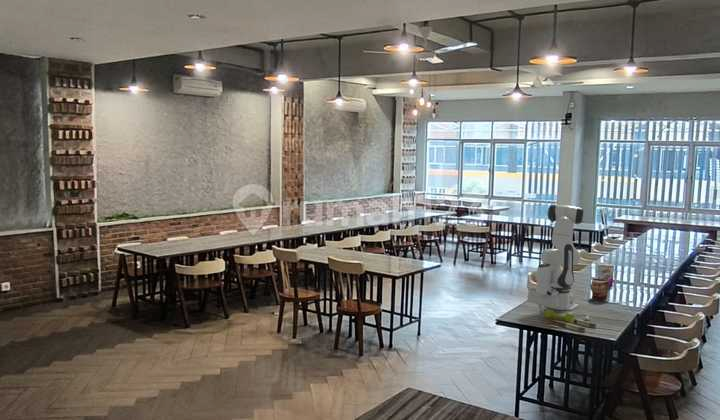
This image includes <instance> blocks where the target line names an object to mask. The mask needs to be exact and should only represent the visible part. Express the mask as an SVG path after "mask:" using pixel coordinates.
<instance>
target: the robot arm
mask: <svg viewBox="0 0 720 420" xmlns="http://www.w3.org/2000/svg"><path fill="white" fill-rule="evenodd" d="M546 215H547V219H548V220H549V221H550V222H551V223H552V224H554V225H553V230H552V235H551V244H552V245H553V246H554V247H555V248H548V249H544V250H543V251H541V254H540V261H541V262H542V263H540V264H539V265H538V266H537V268H536V277H535V279H536V284H535V287H534V288H533V287H530V288H528V291H527V292H528V294H527V302H528V303H529V304H535V305H538V306H537V307H538V308H539V312H540V313H543V314H545V313H546V310H547V309H549V308H550V309H553V310H558V311H559V310H561V311H564V310H565V311H573V310H575V309H576V308H578V307H579V306H580V304H578V303H577V302H576V301H575V300H576V297H575V296H574V295H573V293H571V290H572V287H573V284H574V282H575V275H574V265H578V264H579V263H580V262H581V259H582V255H581V252H580V251H579V250H578V249H576V247H575V246H574V242H573V238H574V237H573V236H574V227H575V225H580V224H582V223H583V221H584V219H585V211H584V209H583V207H579V206H574V205H563V204H551V205H549V207H548V209H547V210H546ZM561 266H562V268H561Z"/></svg>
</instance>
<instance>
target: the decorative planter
mask: <svg viewBox="0 0 720 420" xmlns="http://www.w3.org/2000/svg"><path fill="white" fill-rule="evenodd" d="M590 291H591V293H592V295H591V299H592V300H593V301H601V302H604V301H607V299H608V294H609V291H610V286H609V284H608V281H607V280H604V279H597V278H592V280H591V283H590Z"/></svg>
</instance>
